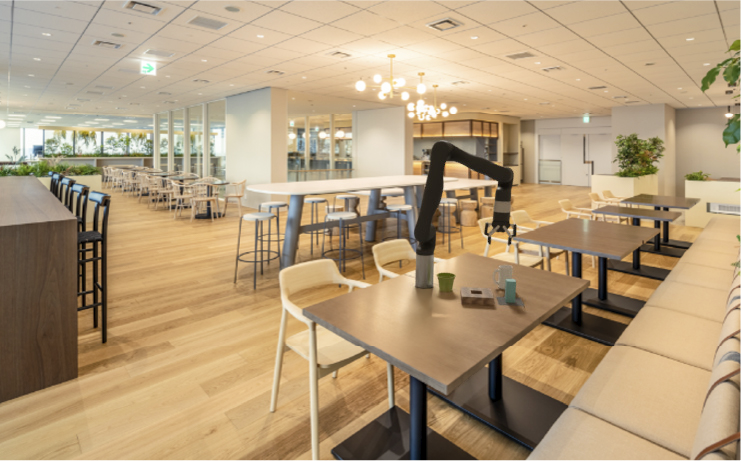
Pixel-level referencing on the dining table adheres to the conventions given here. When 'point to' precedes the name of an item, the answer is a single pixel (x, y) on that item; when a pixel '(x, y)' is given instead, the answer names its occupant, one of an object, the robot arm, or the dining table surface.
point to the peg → (510, 290)
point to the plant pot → (446, 281)
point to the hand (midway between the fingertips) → (499, 244)
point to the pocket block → (476, 296)
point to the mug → (503, 275)
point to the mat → (517, 303)
